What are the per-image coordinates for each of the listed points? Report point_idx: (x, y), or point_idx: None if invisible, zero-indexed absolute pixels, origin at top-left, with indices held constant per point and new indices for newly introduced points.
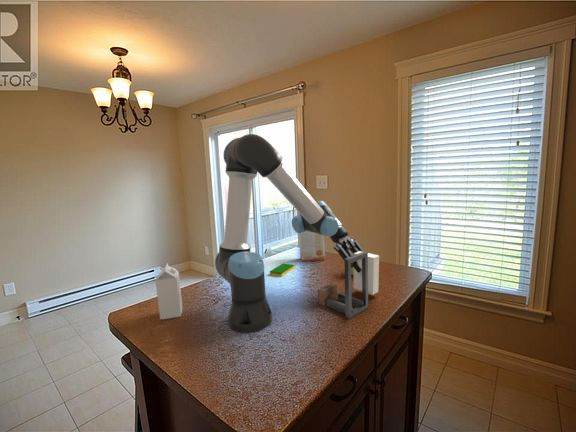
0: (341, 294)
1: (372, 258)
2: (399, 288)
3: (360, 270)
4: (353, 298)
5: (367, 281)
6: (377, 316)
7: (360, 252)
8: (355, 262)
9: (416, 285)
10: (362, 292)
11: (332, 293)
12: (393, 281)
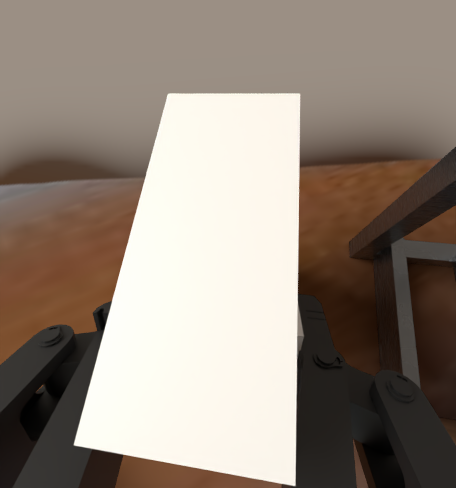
0: (416, 370)
1: (296, 119)
2: (111, 220)
3: (308, 297)
4: (404, 288)
5: (426, 178)
6: (383, 189)
7: (156, 374)
8: (337, 357)
9: (56, 184)
10: (406, 232)
11: (452, 430)
12: (44, 267)
